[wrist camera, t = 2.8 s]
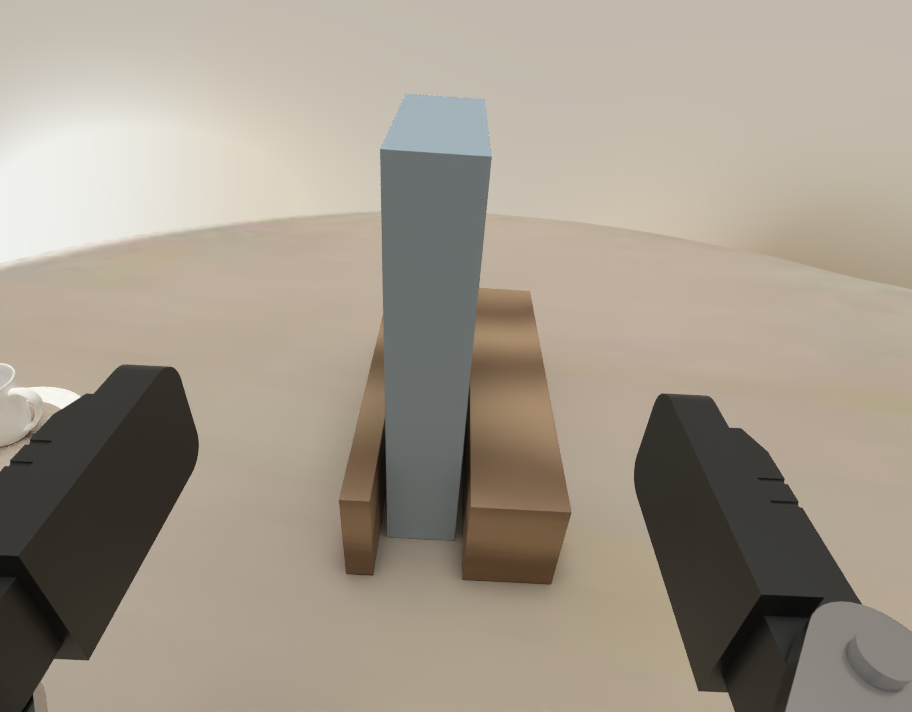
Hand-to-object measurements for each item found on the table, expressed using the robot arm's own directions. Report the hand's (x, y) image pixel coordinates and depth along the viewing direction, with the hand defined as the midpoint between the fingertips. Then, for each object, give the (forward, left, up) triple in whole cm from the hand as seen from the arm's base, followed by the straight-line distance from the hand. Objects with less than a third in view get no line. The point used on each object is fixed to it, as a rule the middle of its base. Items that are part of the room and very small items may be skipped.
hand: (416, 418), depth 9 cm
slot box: (-11, +12, -16) cm, 23 cm away
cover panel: (-9, +9, -16) cm, 21 cm away
